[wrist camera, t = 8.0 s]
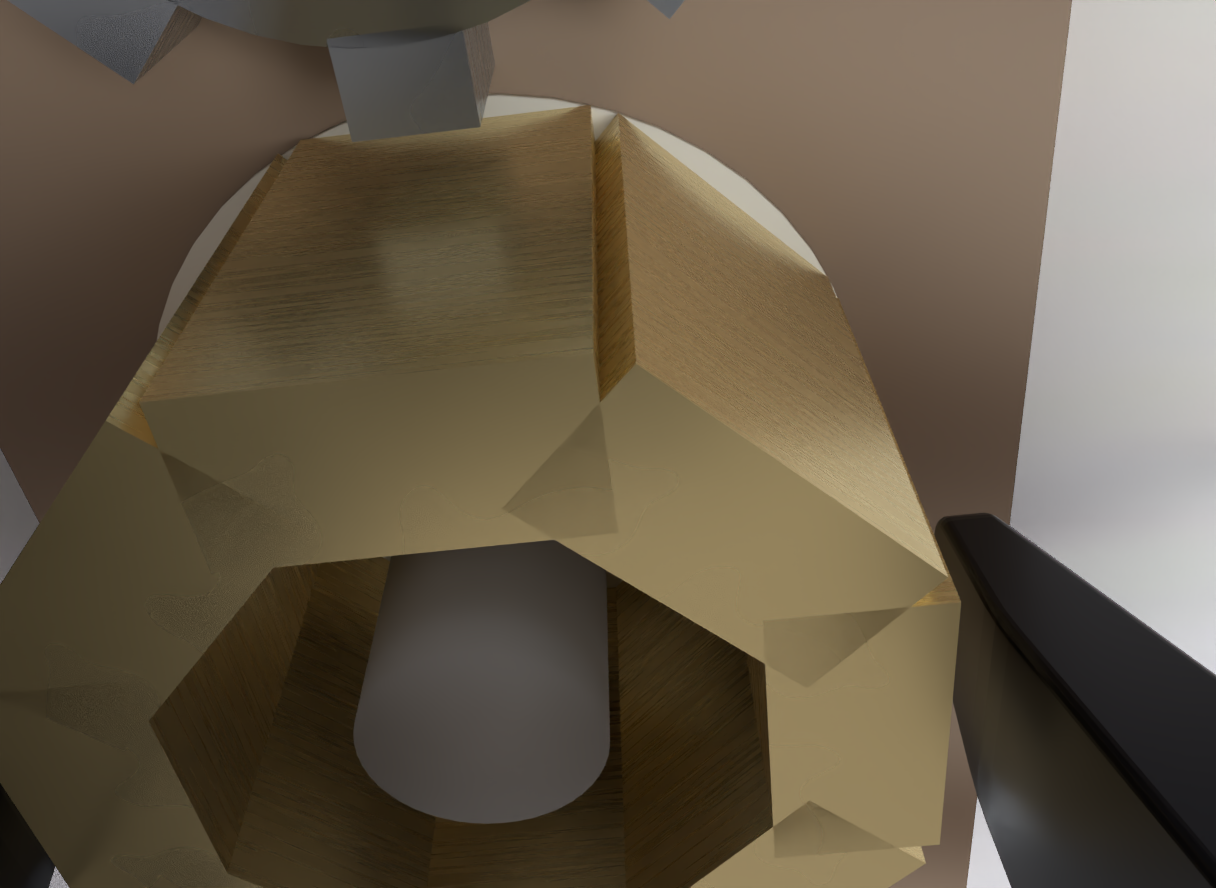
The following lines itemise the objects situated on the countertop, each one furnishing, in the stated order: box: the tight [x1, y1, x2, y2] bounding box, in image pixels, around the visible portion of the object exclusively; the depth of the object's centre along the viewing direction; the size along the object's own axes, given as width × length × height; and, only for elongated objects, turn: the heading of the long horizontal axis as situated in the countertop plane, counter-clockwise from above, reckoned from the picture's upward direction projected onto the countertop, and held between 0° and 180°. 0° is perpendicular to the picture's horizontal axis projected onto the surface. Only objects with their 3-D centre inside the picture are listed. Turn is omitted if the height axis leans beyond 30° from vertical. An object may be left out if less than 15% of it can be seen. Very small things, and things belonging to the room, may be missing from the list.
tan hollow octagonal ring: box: [0, 105, 961, 888], centre depth 9 cm, size 6×6×4 cm
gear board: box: [0, 0, 1072, 888], centre depth 10 cm, size 20×10×5 cm, turn 6°
